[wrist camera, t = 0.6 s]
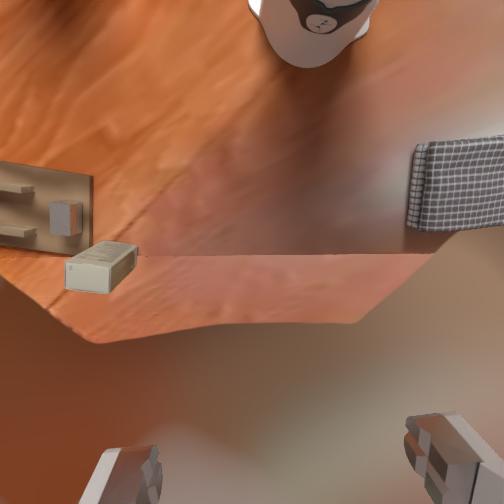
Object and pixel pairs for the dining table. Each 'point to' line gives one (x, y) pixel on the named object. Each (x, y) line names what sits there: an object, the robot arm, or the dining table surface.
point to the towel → (457, 185)
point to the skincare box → (100, 267)
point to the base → (42, 207)
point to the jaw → (65, 217)
